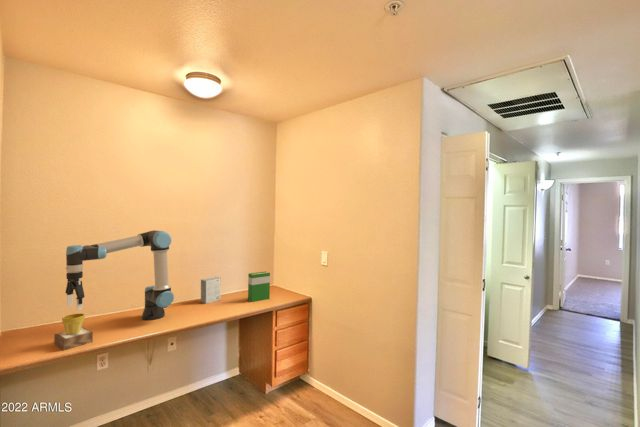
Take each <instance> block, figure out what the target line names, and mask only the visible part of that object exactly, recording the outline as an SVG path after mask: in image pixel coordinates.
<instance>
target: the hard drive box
mask: <svg viewBox="0 0 640 427" xmlns="http://www.w3.org/2000/svg"><path fill="white" fill-rule="evenodd" d="M221 285H222V284H221V277H218V276H212V277H208V278H203V279H200V302H201V303H202V304H204V305H205V304H210V303H213V302H217V301H220V300H221V298H222V296H221Z"/></svg>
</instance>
